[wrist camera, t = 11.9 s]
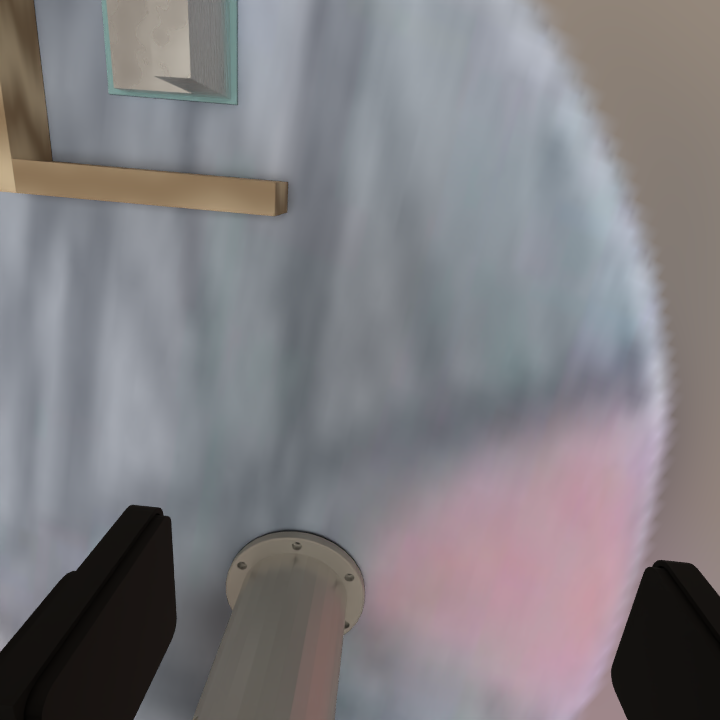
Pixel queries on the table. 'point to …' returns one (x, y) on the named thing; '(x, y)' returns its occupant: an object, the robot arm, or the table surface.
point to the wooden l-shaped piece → (117, 184)
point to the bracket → (171, 47)
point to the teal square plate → (175, 97)
